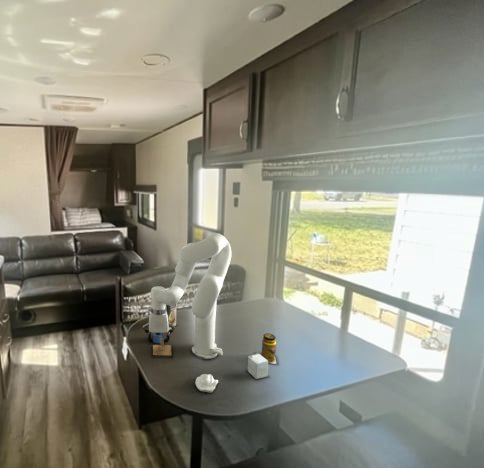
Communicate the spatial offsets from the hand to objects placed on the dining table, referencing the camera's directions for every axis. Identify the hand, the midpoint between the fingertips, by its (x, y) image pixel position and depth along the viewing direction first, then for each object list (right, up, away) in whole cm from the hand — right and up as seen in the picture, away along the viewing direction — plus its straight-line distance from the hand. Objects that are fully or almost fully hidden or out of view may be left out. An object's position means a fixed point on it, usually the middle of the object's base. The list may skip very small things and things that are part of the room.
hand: (158, 341), depth 158 cm
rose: (+18, -7, -34) cm, 39 cm away
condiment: (+50, -3, -16) cm, 53 cm away
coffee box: (+6, +2, +17) cm, 18 cm away
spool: (0, -1, 0) cm, 1 cm away
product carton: (+42, -5, -27) cm, 50 cm away
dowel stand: (+1, -2, -9) cm, 9 cm away
